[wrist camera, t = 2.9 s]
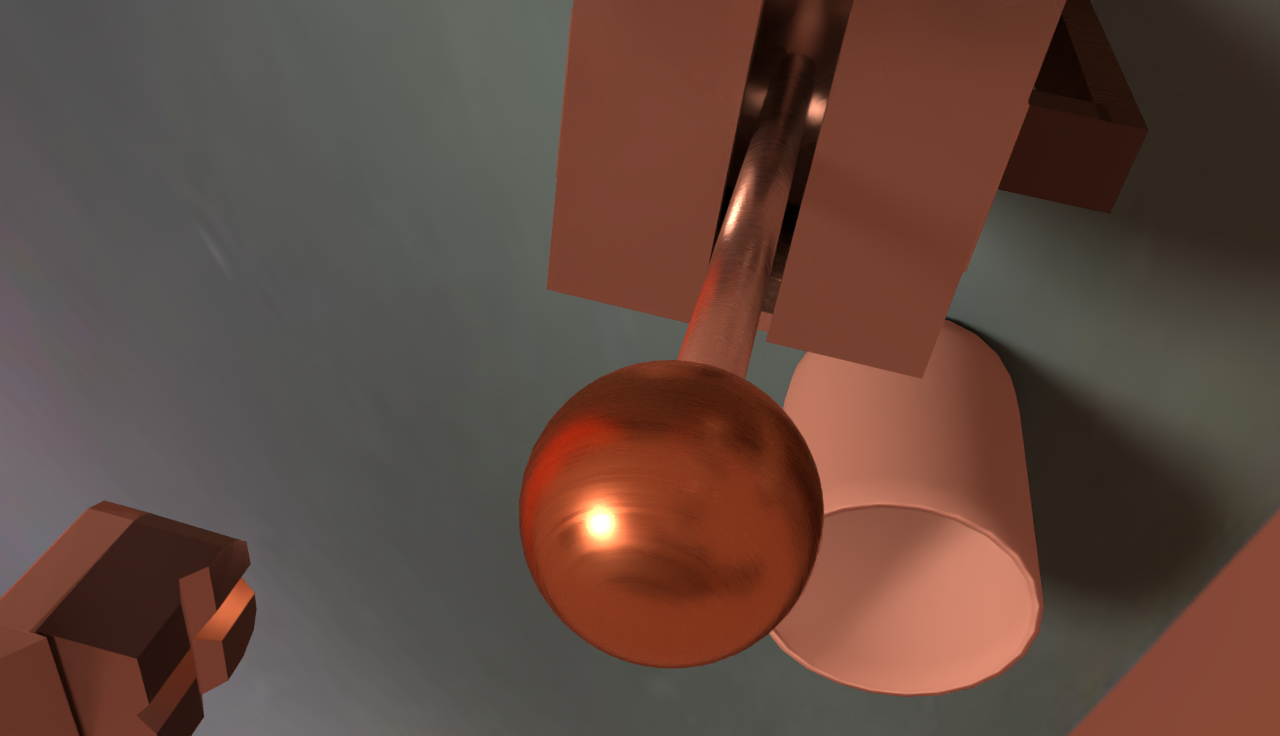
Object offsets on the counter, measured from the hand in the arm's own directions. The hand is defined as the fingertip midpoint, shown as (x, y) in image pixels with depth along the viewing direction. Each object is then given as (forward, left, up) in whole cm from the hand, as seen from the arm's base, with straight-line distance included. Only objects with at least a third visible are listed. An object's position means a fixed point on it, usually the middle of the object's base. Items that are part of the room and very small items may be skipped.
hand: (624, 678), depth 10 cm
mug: (+18, +7, -30) cm, 36 cm away
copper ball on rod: (0, 0, -18) cm, 18 cm away
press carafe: (0, +2, -30) cm, 30 cm away
